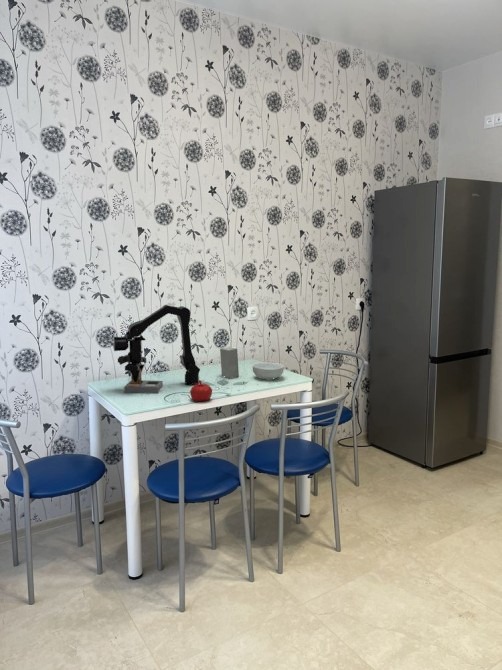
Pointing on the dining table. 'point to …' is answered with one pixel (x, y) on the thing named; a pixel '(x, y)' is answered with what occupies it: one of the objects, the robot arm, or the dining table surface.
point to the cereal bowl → (268, 370)
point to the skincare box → (229, 362)
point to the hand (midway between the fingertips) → (136, 380)
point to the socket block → (144, 387)
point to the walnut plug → (137, 379)
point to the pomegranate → (201, 392)
